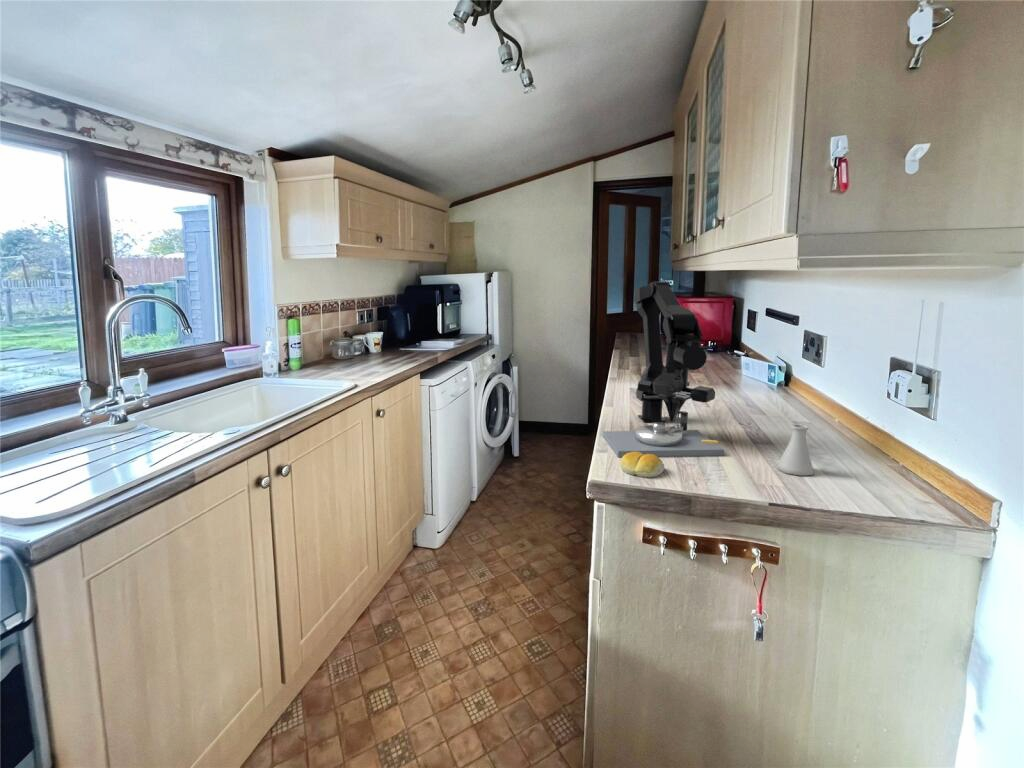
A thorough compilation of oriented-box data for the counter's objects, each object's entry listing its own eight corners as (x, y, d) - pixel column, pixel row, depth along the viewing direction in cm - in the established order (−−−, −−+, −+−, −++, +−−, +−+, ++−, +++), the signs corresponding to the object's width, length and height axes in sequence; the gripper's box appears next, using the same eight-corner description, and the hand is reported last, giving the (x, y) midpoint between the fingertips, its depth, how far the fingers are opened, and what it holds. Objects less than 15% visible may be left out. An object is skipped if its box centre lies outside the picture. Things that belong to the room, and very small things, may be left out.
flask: (819, 478, 106) (825, 431, 104) (782, 475, 107) (786, 429, 105) (807, 466, 113) (812, 422, 111) (771, 463, 114) (776, 420, 112)
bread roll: (630, 461, 116) (630, 444, 115) (667, 470, 111) (669, 453, 110) (612, 471, 110) (613, 453, 109) (651, 481, 104) (652, 463, 104)
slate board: (602, 436, 134) (603, 429, 133) (698, 435, 135) (698, 427, 135) (617, 457, 118) (618, 448, 118) (725, 455, 119) (726, 447, 119)
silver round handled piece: (661, 449, 119) (662, 426, 118) (626, 437, 128) (627, 416, 127) (703, 437, 127) (704, 416, 126) (667, 427, 136) (668, 407, 135)
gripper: (628, 361, 130) (624, 420, 133) (700, 372, 118) (694, 436, 121) (649, 356, 138) (645, 412, 141) (718, 365, 126) (712, 426, 129)
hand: (672, 421), depth 133 cm, fingers closed
